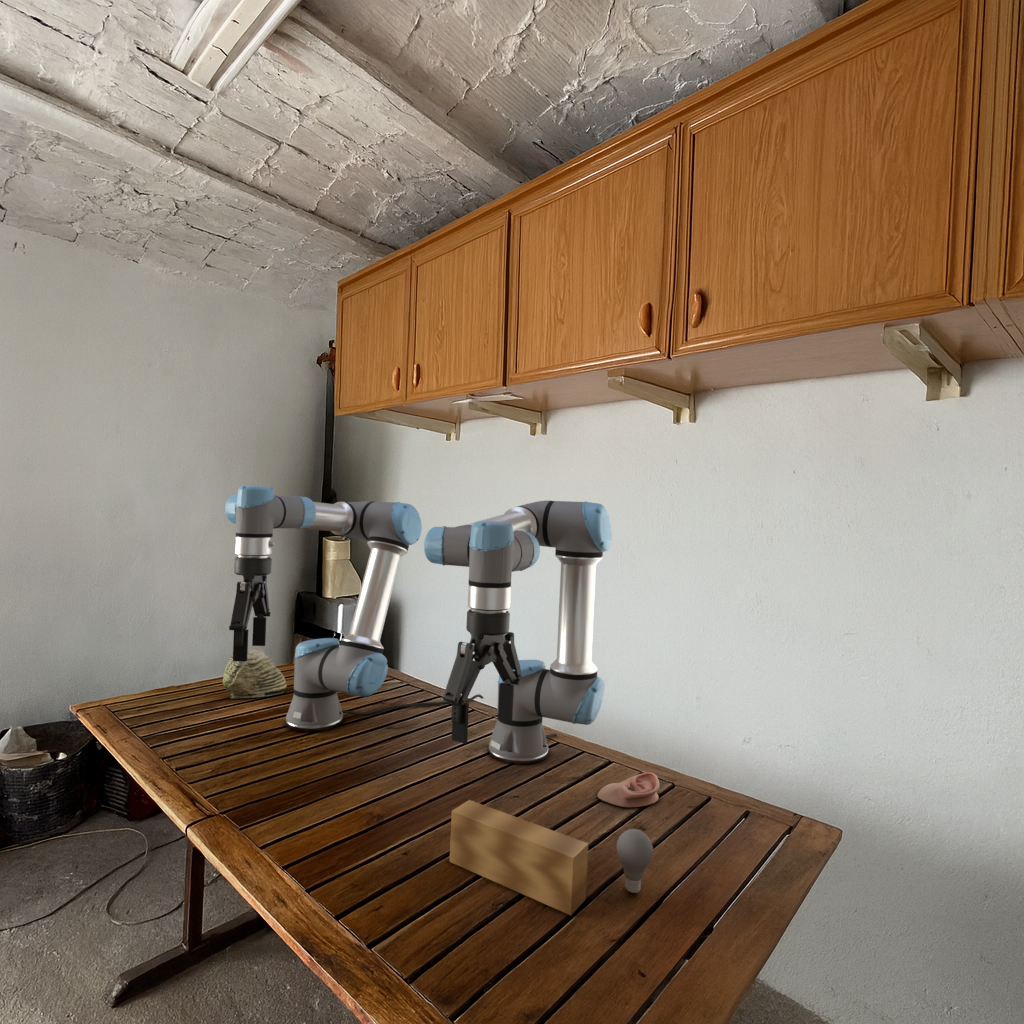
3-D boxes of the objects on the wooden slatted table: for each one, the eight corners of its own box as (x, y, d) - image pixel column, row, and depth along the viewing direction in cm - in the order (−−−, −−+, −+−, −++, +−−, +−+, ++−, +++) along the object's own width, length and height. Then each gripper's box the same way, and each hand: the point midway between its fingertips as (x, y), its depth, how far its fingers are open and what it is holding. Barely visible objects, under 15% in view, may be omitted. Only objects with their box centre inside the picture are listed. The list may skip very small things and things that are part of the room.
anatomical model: (597, 785, 136) (600, 763, 147) (596, 803, 136) (599, 780, 147) (660, 793, 133) (659, 771, 144) (659, 812, 133) (658, 788, 144)
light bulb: (610, 879, 108) (613, 822, 108) (644, 879, 109) (647, 822, 109) (619, 902, 102) (622, 840, 102) (655, 901, 103) (658, 840, 103)
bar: (586, 899, 103) (588, 843, 103) (571, 916, 99) (573, 857, 99) (467, 849, 116) (469, 799, 116) (449, 862, 112) (451, 810, 112)
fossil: (218, 695, 195) (220, 647, 195) (278, 685, 208) (279, 640, 207) (228, 703, 189) (230, 653, 188) (289, 692, 201) (290, 645, 201)
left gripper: (254, 562, 126) (250, 668, 127) (285, 551, 151) (281, 640, 152) (215, 561, 126) (211, 667, 126) (252, 550, 150) (249, 639, 151)
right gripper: (510, 599, 123) (505, 707, 124) (425, 615, 103) (419, 745, 103) (543, 604, 119) (538, 716, 120) (461, 622, 98) (455, 757, 99)
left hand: (249, 653), depth 139 cm, fingers open, 13 cm apart
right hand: (483, 730), depth 111 cm, fingers open, 13 cm apart
